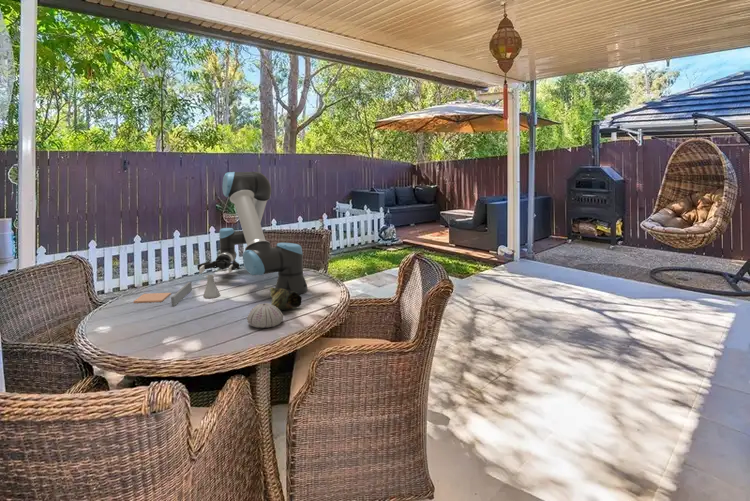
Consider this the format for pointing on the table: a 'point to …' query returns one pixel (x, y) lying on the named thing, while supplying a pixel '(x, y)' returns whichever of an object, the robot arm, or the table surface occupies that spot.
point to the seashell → (285, 299)
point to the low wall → (181, 294)
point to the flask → (211, 288)
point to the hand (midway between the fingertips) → (214, 270)
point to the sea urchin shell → (265, 316)
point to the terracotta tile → (152, 297)
